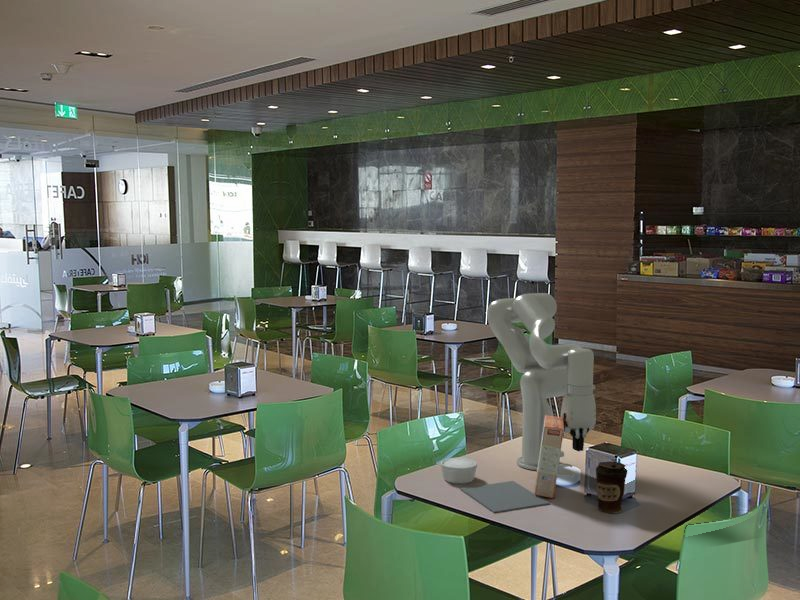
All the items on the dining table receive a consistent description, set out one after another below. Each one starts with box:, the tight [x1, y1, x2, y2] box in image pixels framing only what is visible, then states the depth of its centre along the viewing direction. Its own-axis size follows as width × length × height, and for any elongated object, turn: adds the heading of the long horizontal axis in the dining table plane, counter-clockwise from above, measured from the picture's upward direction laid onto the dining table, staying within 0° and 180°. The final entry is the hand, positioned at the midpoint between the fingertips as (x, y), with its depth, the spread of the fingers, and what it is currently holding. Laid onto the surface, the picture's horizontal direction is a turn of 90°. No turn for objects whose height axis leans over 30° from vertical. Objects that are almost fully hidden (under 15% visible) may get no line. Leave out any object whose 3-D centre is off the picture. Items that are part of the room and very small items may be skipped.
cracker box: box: [534, 415, 565, 499], centre depth 231 cm, size 14×6×21 cm, turn 168°
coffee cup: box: [595, 461, 628, 514], centre depth 216 cm, size 9×8×13 cm
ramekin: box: [440, 457, 478, 484], centre depth 242 cm, size 11×11×5 cm
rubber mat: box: [459, 480, 551, 514], centre depth 227 cm, size 18×20×1 cm
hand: (577, 449), depth 235 cm, fingers closed
